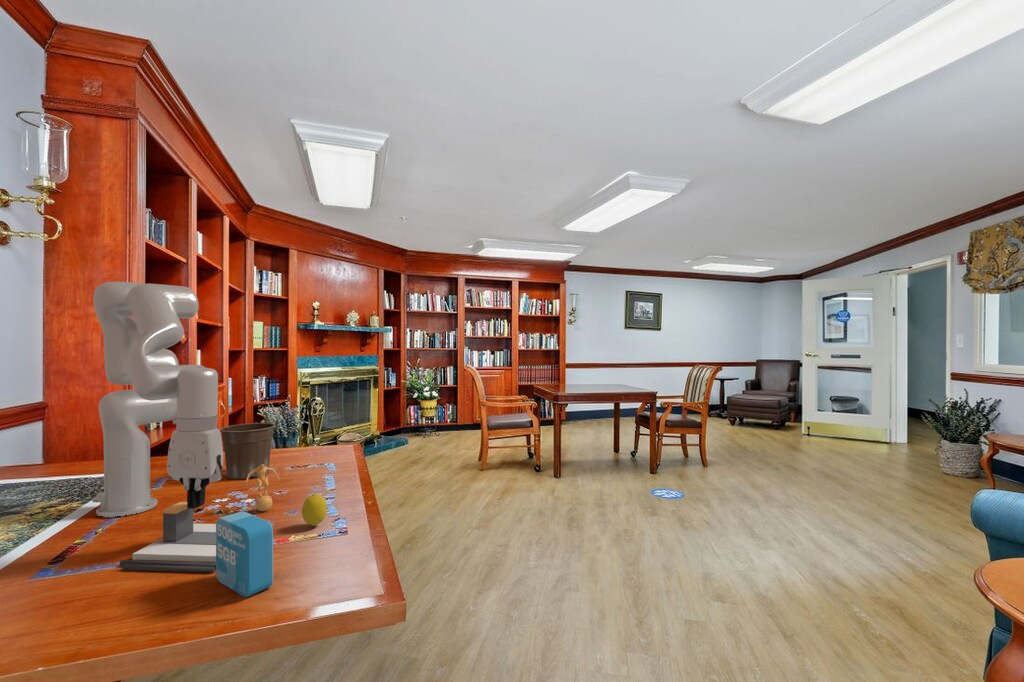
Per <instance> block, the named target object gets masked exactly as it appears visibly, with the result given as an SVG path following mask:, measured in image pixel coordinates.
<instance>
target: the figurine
mask: <svg viewBox="0 0 1024 682" xmlns="http://www.w3.org/2000/svg"><path fill="white" fill-rule="evenodd" d="M266 470H269V472H273V474H274V475H275V476H276V477H277V478H276V479H277V480H278V481H280V477H279V474H278V473H277V471H276V470H275V469H273V468H271V467H269V468H268V467H265V466H264V465H263V464H261V465H260V466H258V467H257V468H256V469H254V470H253V471H251V472H250V473H249V474H248V475H247V479H245V482H244V486H245V487H247V486H248V484H249V482H248V481H249V480H250V478H249V476H250V474H253V473H254V472H257V474H258V476H259V477H256V484H257V487H258V488H257V491H258V498H257V499H256V500H255V508H256V510H257V511H259V512H266V511H268V510H270V509H271V508H272V506H273V499H272V497H270V496H269V494H268V491H267V490H268V487H269V481H268V479H269V477H268V476H266V475H265V473H266ZM262 482H263V483H262ZM263 484H264V485H265V487H264V495H262V491H261V490H262V488H261V487H262V485H263Z"/></svg>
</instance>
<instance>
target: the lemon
mask: <svg viewBox="0 0 1024 682" xmlns="http://www.w3.org/2000/svg"><path fill="white" fill-rule="evenodd" d="M301 507H302V508H301V515H302V519H303V521H304V522H305V523H306V524H308V525H310V526H312V527H313V526H315V527H317V526H318V525H319V524H321V523H322V522H323V520H324V519H325V518H326V516H327V511H328V505H327V501H326V499H325V497H323V496H322V495H320V494H317V493H316V492H314V493H312V494H311V495H309V496H307V498H305V500H304V502H303V504H302V506H301Z"/></svg>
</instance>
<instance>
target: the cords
mask: <svg viewBox="0 0 1024 682" xmlns="http://www.w3.org/2000/svg"><path fill="white" fill-rule="evenodd" d="M119 566H120V567H121V570H123V571H145V572H146V571H148V572H149V571H150V572H151V571H153V572H181V573H207V574H208V573H209V574H213V573H214V572H216V562H196V561H163V560H133V559H131V560H127V559H121V560H120V562H119Z"/></svg>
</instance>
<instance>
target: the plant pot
mask: <svg viewBox="0 0 1024 682" xmlns="http://www.w3.org/2000/svg"><path fill="white" fill-rule="evenodd" d="M275 428H276V424H274V423H272V422H271V423H270V422H257V423H256V422H253V423H252V422H251V423H239V424H234V425H233V424H232V425H227V426H224V427H221V428H219V430H220V434H221V438H222V443H223V451H224V458H225V460H224V461H225V470H226V478H228V479H229V480H237V481H240V480H246V479H247V475H248V474H249V473H250V472H251V471H253V470H254V469H256V468H257V467H258V466H260V465H261V464H263V465H264V466H265V467H268V468H270V459H271V451H272V442H273V441H272V440H273V437H274V429H275ZM269 472H270V471H269V470H266V473H265V474H266V475H267V474H268V473H269ZM252 477H253V478H259V476H258V474H257V472H254V473H253V474H250V476H249V479H251V478H252Z"/></svg>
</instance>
